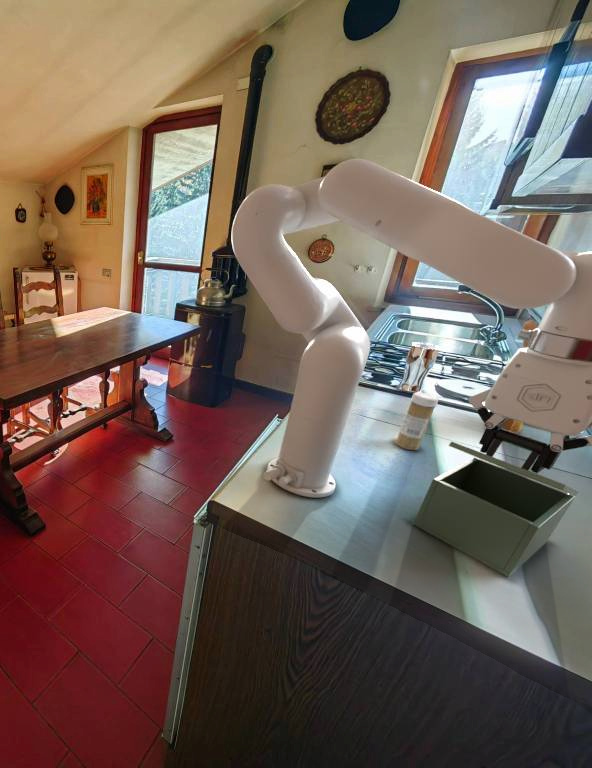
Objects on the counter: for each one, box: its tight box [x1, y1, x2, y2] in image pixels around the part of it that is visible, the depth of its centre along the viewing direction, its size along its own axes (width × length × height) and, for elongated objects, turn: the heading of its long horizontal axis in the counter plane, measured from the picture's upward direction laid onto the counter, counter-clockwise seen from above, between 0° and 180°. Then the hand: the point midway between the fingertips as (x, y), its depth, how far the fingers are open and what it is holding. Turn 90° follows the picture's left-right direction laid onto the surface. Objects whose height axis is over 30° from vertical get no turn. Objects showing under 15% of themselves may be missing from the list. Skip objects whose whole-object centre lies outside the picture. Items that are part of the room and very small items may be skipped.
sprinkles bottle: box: [395, 391, 440, 451], centre depth 92 cm, size 5×5×14 cm
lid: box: [448, 428, 579, 497], centre depth 62 cm, size 16×13×5 cm
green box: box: [412, 456, 576, 578], centre depth 66 cm, size 16×13×10 cm
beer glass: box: [397, 342, 440, 394], centre depth 124 cm, size 7×7×15 cm
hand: (511, 458), depth 60 cm, fingers closed on lid, 5 cm apart
